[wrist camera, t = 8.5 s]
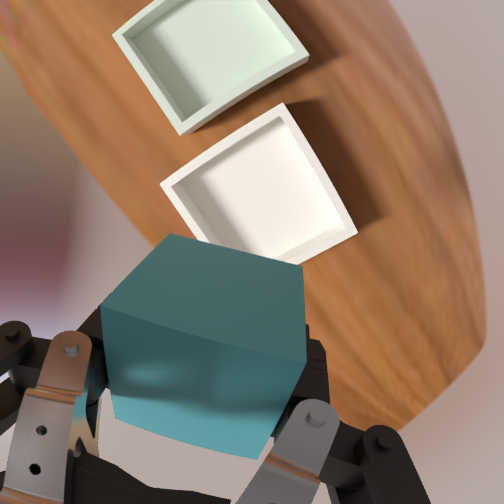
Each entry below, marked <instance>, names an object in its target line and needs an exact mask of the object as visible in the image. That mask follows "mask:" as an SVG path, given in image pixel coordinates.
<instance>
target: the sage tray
mask: <svg viewBox="0 0 504 504" xmlns="http://www.w3.org/2000/svg"><path fill="white" fill-rule="evenodd" d="M112 36H113V38H114V39H115V41H116V42H117V43H118V45H119V46H120V48H121V49H122V51H123V52H124V54H125V55H126V57H127V58H128V60H129V61H130V63H131V64H132V66H133V67H134V69H135V70H136V72H137V73H138V74H139V76H140V77H141V79H142V80H143V82H144V83H145V85H146V86H147V88H148V89H149V91H150V92H151V94H152V95H153V97H154V98H155V100H156V101H157V103H158V104H159V106H160V107H161V109H162V110H163V111H164V113H165V114H166V116H167V117H168V119H169V120H170V122H171V123H172V125H173V126H174V128H175V129H176V131H177V132H178V134H179V135H187V134H191V133H193V132H194V131H195V130H197V129H198V128H200V127H201V126H203V125H204V124H205V123H207V122H208V121H210V120H211V119H213V118H214V117H216V116H217V115H219V114H220V113H222V112H223V111H225V110H226V109H228V108H229V107H231V106H232V105H234V104H236V103H237V102H239V101H240V100H242V99H244V98H245V97H247V96H248V95H250V94H252V93H253V92H255V91H257V90H258V89H260V88H262V87H263V86H265V85H267V84H268V83H270V82H272V81H274V80H275V79H277V78H279V77H281V76H282V75H284V74H286V73H288V72H289V71H291V70H293V69H295V68H297V67H299V66H301V65H302V64H304V63H306V62H308V58H309V53H308V52H307V50H306V49H305V48H304V46H303V45H302V44H301V42H300V41H299V40H298V38H297V37H296V36H295V34H294V33H293V32H292V30H291V29H290V28H289V26H288V25H287V24H286V23H285V21H284V20H283V19H282V17H281V16H280V15H279V14H278V12H277V11H276V10H275V9H274V8H273V6H272V5H271V4H270V3H269V2H268V0H154V1H153V2H152V3H150V4H149V5H148V6H146V7H145V8H144V9H142V10H141V11H140V12H139V13H137V14H136V15H135V16H134V17H132V18H131V19H130V20H129V21H128V22H126V23H125V24H124V25H123V26H122V27H120V28H119V29H118V30H117V31H116V32H115V33H114V34H112Z"/></svg>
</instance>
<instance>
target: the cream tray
mask: <svg viewBox="0 0 504 504" xmlns="http://www.w3.org/2000/svg"><path fill="white" fill-rule="evenodd" d="M160 186H161V187H162V189H163V190H164V192H165V193H166V194H167V196H168V197H169V199H170V200H171V202H172V203H173V205H174V206H175V208H176V209H177V211H178V212H179V213H180V215H181V216H182V218H183V219H184V221H185V222H186V224H187V225H188V226H189V228H190V229H191V231H192V232H193V234H194V235H195V236H196V238H197V239H198V240H199V241H203V242H207V243H211V244H215V245H219V246H223V247H227V248H231V249H235V250H239V251H243V252H247V253H251V254H255V255H259V256H263V257H267V258H271V259H275V260H279V261H283V262H287V263H291V264H295V265H298V264H300V263H302V262H304V261H306V260H307V259H309V258H311V257H313V256H315V255H317V254H319V253H321V252H323V251H325V250H327V249H329V248H330V247H332V246H334V245H336V244H338V243H340V242H342V241H344V240H346V239H347V238H349V237H351V236H353V235H355V234H357V233H358V231H357V229H356V227H355V225H354V224H353V222H352V220H351V218H350V216H349V214H348V212H347V210H346V208H345V206H344V204H343V203H342V201H341V199H340V197H339V195H338V193H337V192H336V190H335V188H334V186H333V184H332V182H331V181H330V179H329V177H328V175H327V174H326V172H325V170H324V168H323V167H322V165H321V163H320V162H319V160H318V158H317V156H316V155H315V153H314V151H313V150H312V148H311V146H310V145H309V143H308V141H307V140H306V138H305V137H304V135H303V133H302V132H301V130H300V128H299V127H298V125H297V124H296V122H295V121H294V119H293V117H292V116H291V114H290V113H289V111H288V110H287V108H286V107H285V105H284V104H283V103H281V104H279V105H278V106H276V107H274V108H272V109H271V110H269V111H267V112H266V113H264V114H262V115H261V116H259V117H257V118H256V119H254V120H253V121H251V122H249V123H248V124H246V125H245V126H243V127H241V128H240V129H238V130H237V131H235V132H234V133H232V134H230V135H229V136H227V137H226V138H224V139H223V140H221V141H220V142H218V143H217V144H215V145H214V146H212V147H211V148H209V149H208V150H206V151H205V152H203V153H202V154H200V155H199V156H198V157H196V158H195V159H193V160H192V161H190V162H189V163H188V164H186V165H185V166H183V167H182V168H181V169H179V170H178V171H176V172H175V173H174V174H172V175H171V176H170V177H168V178H167V179H166V180H164V181H163V182H162V183H160Z"/></svg>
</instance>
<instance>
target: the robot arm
mask: <svg viewBox="0 0 504 504" xmlns="http://www.w3.org/2000/svg"><path fill="white" fill-rule="evenodd" d="M110 294H111V293H110ZM110 294H109V295H110ZM109 295H108V296H109ZM306 356H307V363H306V365H305V367H304V369H303V371H302V373H301V375H300V378H299V380H298V382H297V384H296V386H295V388H294V390H293V392H292V394H291V396H290V398H289V400H288V402H287V404H286V406H285V408H284V410H283V412H282V414H281V416H280V418H279V420H278V422H277V424H276V426H275V428H274V430H273V431H272V433H271V435H270V437H274V446H273V447H272V449H271V450H270V452H269V454H268V455H267V457H266V458H265V460H264V462H263V463H262V465H261V466H260V468H259V470H258V471H257V473H256V474H255V476H254V477H253V479H252V480H251V482H250V483H249V485H248V486H247V488H246V489H245V491H244V492H243V494H242V495H241V497H240V498H239V500H238V501H237V502H236V504H311V503H312V501H313V499H314V496H315V494H316V492H317V490H318V488H319V485H320V482H323V483H325V484H326V486H327V489H328V493H329V496H330V500H331V503H332V504H431V502H430V500H429V498H428V495H427V493H426V491H425V489H424V486H423V484H422V482H421V480H420V477H419V475H418V473H417V471H416V469H415V466H414V465H413V462H412V460H411V458H410V455H409V454H408V451H407V449H406V447H405V445H404V443H403V441H402V439H401V437H400V435H399V434H398V433H397V432H396V431H395V430H393V429H392V428H390V427H387V426H384V425H375V426H372V427H370V428H368V429H367V430H366V432H365V431H362V430H359V429H357V428H354V427H352V426H349V425H347V424H345V423H343V422H342V421H341V420H340V419H339V415H338V413H337V412H336V410H335V409H334V408H333V407H332V406H331V405H330V395H329V383H328V372H327V363H326V362H327V361H326V351H325V349H324V348H323V346H322V344H321V343H320V341H319V340H314V339H310V337H309V325H308V324H306ZM6 372H8V374H9V376H10V377H8V378H7V379H6V380H4V381H3V382H2V383H1V384H0V436H1V435H2V434H3V433H4V432H5V431H6V430H8V429H9V428H10V427H11V426H12V425H13V424H14V423H16V425H15V429H14V433H13V437H12V442H11V446H10V451H9V456H8V461H7V467H6V471H2V472H0V504H230V502H231V500H229V499H224V498H220V497H215V496H211V495H206V494H202V493H199V492H194V491H185V490H171V489H160V488H153V487H149V486H147V485H145V484H144V483H142V482H140V481H139V480H137V479H136V478H134V477H133V476H131V475H130V474H128V473H126V472H125V471H124V470H122V469H121V468H119V467H118V466H116V465H114V464H112V463H110V462H108V461H105V460H103V459H101V458H99V451H98V434H99V422H100V412H101V403H102V398H101V394H102V393H103V391H104V390H105V388H108V389H110V386H109V380H108V373H107V366H106V359H105V351H104V342H103V333H102V322H101V309H100V305H99V306H98V308H97V309H95V311H94V312H93V313H92V314H91V315H90V316H89V317H88V318H87V319H86V321H85V322H84V323H83V324H82V325H81V326H80V327H79V329H77V331H64V332H61V333H59V334H58V335H56V336H55V337H54V338H53V339H52V340H49V339H43V338H37V337H32V334H31V331H30V328H29V327H28V325H27V324H25V323H23V322H21V321H9V322H6V323H4V324H2V325H1V326H0V376H2V375H3V374H5V373H6Z"/></svg>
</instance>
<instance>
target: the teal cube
mask: <svg viewBox="0 0 504 504" xmlns="http://www.w3.org/2000/svg"><path fill="white" fill-rule="evenodd" d="M100 309H101V322H102V333H103V342H104V351H105V359H106V366H107V373H108V380H109V386H110V392H111V398H112V403H113V409H114V414H115V418H116V419H118V420H121V421H123V422H126V423H129V424H131V425H134V426H136V427H139V428H142V429H145V430H147V431H150V432H153V433H156V434H159V435H162V436H165V437H168V438H172V439H175V440H178V441H181V442H185V443H188V444H192V445H195V446H199V447H203V448H206V449H211V450H214V451H219V452H223V453H227V454H232V455H236V456H241V457H246V458H251V459H258V457H259V455H260V453H261V452H262V450H263V448H264V446H265V444H266V443H267V441H268V439H269V437H270V435H271V433H272V431H273V430H274V428H275V426H276V424H277V422H278V420H279V418H280V416H281V414H282V412H283V410H284V408H285V406H286V404H287V402H288V400H289V398H290V396H291V394H292V392H293V390H294V388H295V386H296V384H297V382H298V380H299V378H300V375H301V373H302V371H303V369H304V367H305V365H306V363H307V356H306V324H305V301H304V281H303V266H299V265H295V264H291V263H287V262H283V261H279V260H275V259H271V258H267V257H263V256H259V255H255V254H251V253H247V252H243V251H239V250H235V249H231V248H227V247H223V246H219V245H215V244H211V243H207V242H203V241H199V240H195V239H191V238H187V237H183V236H179V235H175V234H171V233H170V234H169V235H168V236H167V237H166V238H165V239H164V240H163V241H162V242H161V243H160V244H159V245H158V246H157V247H156V248H155V249H154V250H153V251H152V252H151V253H150V254H149V255H148V256H147V257H146V258H145V259H144V260H143V261H142V262H141V263H140V264H139V265H138V266H137V267H136V268H135V269H134V270H133V271H132V272H131V273H130V274H129V275H128V276H127V277H126V278H125V279H124V280H123V281H122V282H121V283H120V284H119V285H118V286H117V287H116V288H115V290H114V291H113V292H112V293H111V294H110V295H109V296H108V297H107V298H106V299H105V300H104V301H103V302H102V303H101V304H100Z"/></svg>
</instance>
